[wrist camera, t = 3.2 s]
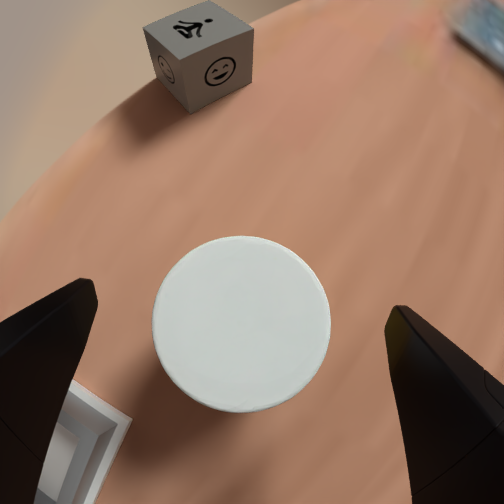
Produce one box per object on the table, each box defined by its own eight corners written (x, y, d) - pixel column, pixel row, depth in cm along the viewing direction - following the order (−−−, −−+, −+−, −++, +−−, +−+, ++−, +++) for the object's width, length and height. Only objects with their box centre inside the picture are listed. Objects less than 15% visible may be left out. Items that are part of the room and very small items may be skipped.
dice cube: (156, 77, 21) (142, 27, 16) (213, 50, 21) (209, 0, 17) (190, 114, 20) (179, 60, 15) (251, 82, 20) (253, 28, 16)
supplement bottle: (170, 353, 16) (83, 368, 6) (217, 262, 17) (188, 171, 8) (266, 400, 15) (295, 474, 6) (310, 307, 16) (391, 265, 7)
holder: (84, 528, 12) (64, 549, 9) (-24, 438, 13) (-51, 444, 10) (133, 419, 15) (111, 433, 12) (8, 325, 15) (-24, 320, 12)
